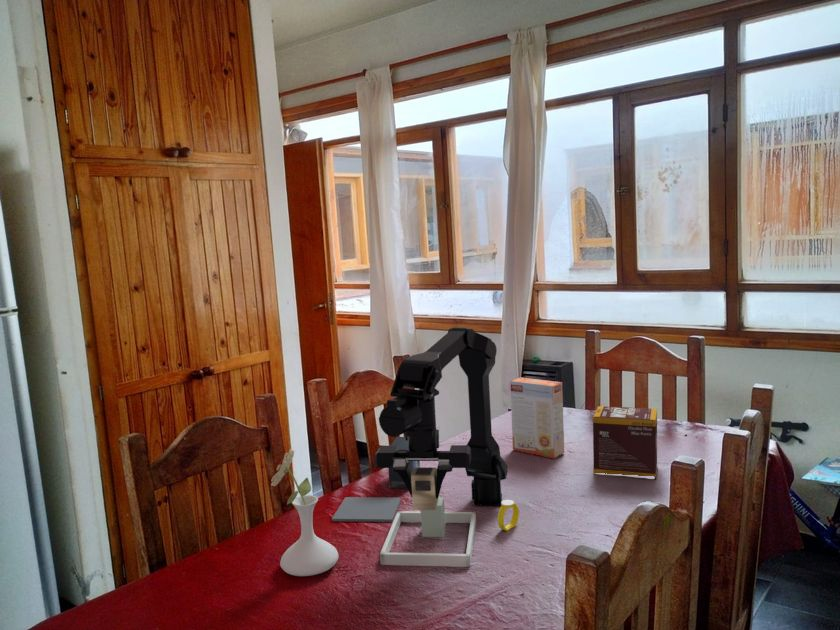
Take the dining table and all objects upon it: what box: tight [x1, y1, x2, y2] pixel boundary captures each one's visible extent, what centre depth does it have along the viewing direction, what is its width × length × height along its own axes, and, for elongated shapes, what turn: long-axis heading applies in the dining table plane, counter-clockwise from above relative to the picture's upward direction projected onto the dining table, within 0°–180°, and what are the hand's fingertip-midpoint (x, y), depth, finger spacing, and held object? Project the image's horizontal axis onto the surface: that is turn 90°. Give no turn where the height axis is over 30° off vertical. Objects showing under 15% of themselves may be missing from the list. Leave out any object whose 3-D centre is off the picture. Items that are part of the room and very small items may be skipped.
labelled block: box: [411, 466, 438, 511], centre depth 129 cm, size 4×5×7 cm
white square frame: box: [379, 510, 477, 568], centre depth 135 cm, size 18×20×2 cm
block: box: [420, 496, 446, 538], centre depth 139 cm, size 4×4×7 cm
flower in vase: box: [270, 448, 339, 577], centre depth 125 cm, size 13×11×25 cm
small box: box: [388, 436, 421, 490], centre depth 169 cm, size 11×6×10 cm, turn 168°
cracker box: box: [509, 376, 565, 459], centre depth 184 cm, size 14×6×21 cm, turn 47°
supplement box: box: [592, 405, 658, 478], centre depth 168 cm, size 10×15×16 cm
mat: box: [331, 496, 402, 523], centre depth 153 cm, size 14×12×1 cm
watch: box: [497, 499, 520, 532], centre depth 139 cm, size 6×3×6 cm, turn 137°
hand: (425, 497), depth 129 cm, fingers closed on labelled block, 4 cm apart
